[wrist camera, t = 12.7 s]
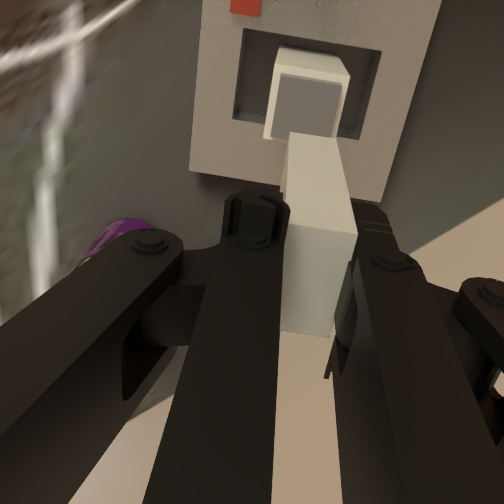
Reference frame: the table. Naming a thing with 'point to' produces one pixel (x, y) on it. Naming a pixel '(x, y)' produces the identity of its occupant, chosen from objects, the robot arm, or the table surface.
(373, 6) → the socket block
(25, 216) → the table surface
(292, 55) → the plug
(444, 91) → the table surface
